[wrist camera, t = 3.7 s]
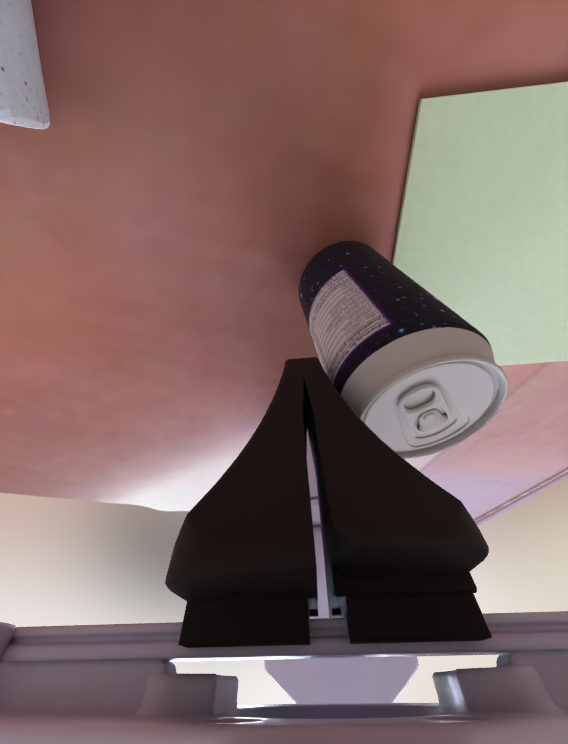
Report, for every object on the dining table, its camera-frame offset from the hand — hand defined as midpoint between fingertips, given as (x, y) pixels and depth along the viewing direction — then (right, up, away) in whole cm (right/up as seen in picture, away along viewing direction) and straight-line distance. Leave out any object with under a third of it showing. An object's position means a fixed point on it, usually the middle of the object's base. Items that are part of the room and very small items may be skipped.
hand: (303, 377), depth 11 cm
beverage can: (+3, +6, +7) cm, 10 cm away
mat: (+15, +7, +7) cm, 18 cm away
